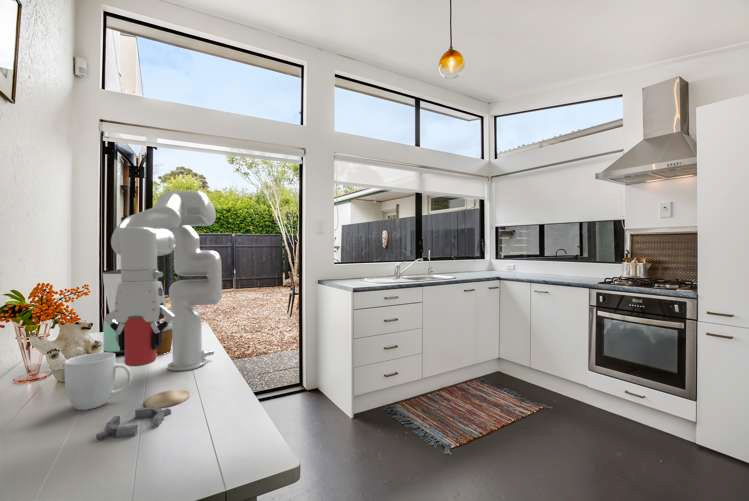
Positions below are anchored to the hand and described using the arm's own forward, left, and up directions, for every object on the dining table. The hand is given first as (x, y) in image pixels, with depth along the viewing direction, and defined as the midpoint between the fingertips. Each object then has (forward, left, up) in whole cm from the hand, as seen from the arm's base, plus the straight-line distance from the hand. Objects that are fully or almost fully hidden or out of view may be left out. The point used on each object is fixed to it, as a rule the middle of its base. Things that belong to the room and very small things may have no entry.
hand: (140, 348), depth 88 cm
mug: (+2, -22, -18) cm, 28 cm away
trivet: (-10, -8, -18) cm, 22 cm away
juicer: (-26, -75, -18) cm, 81 cm away
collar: (+2, +1, -18) cm, 18 cm away
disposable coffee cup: (-34, -59, -18) cm, 70 cm away
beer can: (0, 0, -4) cm, 4 cm away
